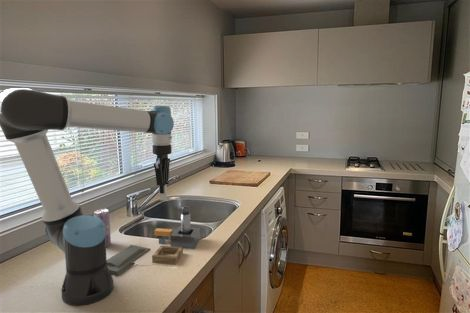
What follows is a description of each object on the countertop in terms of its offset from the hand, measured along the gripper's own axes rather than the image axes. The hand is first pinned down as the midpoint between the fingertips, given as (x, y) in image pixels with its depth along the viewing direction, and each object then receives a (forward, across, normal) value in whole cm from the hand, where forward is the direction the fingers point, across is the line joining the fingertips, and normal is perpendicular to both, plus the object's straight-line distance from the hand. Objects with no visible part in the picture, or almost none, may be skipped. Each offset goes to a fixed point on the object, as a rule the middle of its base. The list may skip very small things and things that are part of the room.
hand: (163, 199), depth 137 cm
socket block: (+19, 0, -7) cm, 20 cm away
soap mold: (+20, -17, +9) cm, 28 cm away
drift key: (+15, 0, 0) cm, 15 cm away
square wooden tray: (+19, -14, -7) cm, 25 cm away
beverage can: (+20, -6, +24) cm, 32 cm away
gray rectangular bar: (+18, 0, -10) cm, 21 cm away
